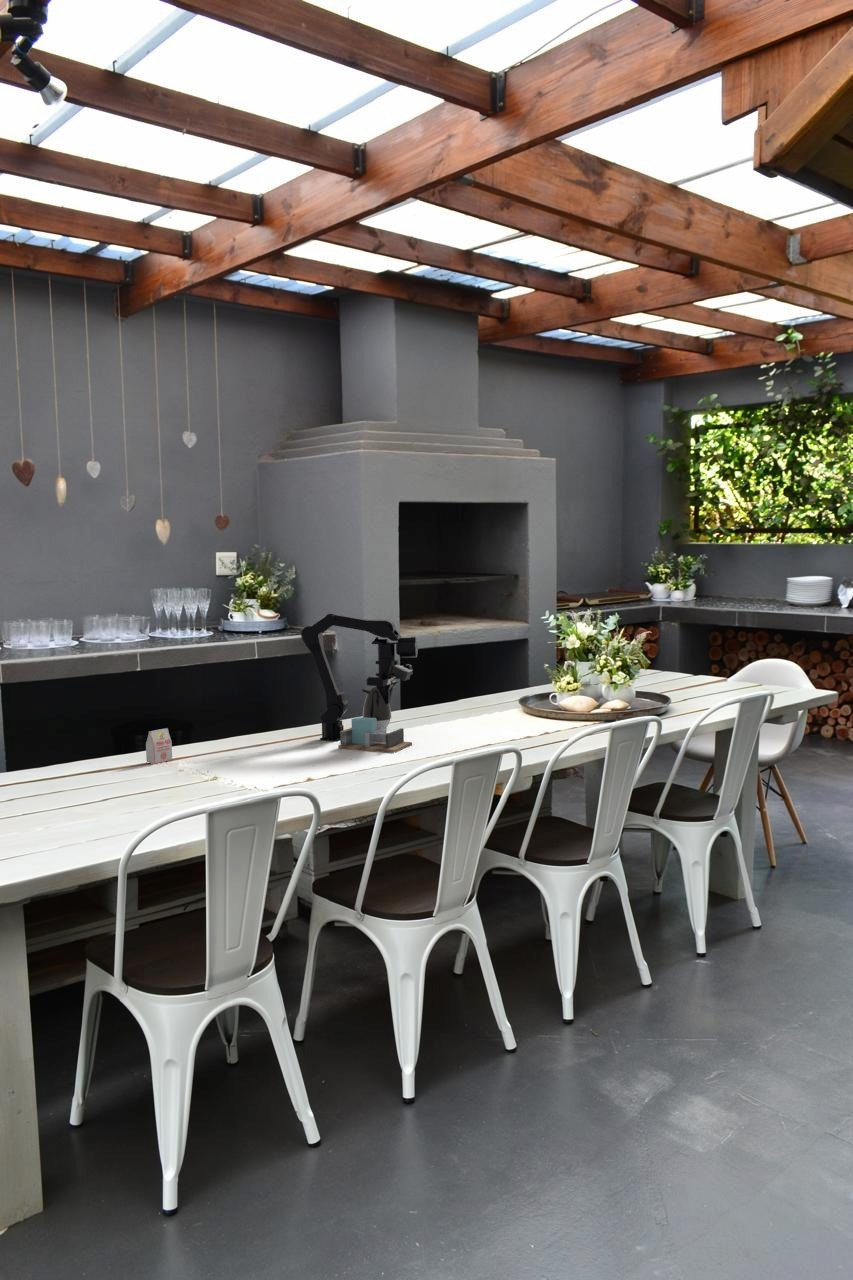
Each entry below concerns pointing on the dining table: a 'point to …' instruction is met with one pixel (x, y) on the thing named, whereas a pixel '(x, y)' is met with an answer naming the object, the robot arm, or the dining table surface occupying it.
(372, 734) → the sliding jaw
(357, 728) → the workpiece block
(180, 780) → the dining table surface
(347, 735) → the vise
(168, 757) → the white cardboard carton
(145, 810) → the dining table surface
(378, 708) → the pump dispenser
